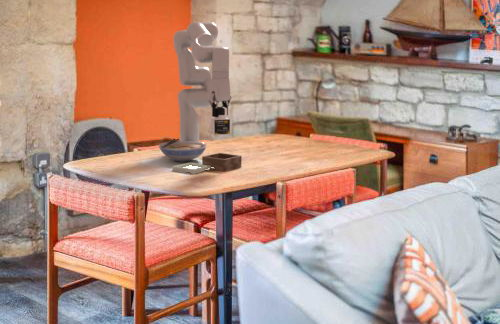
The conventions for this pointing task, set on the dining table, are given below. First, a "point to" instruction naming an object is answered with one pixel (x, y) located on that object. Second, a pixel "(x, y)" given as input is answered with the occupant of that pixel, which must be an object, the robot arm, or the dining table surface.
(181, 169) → the tray
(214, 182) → the dining table surface
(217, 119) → the medicine bottle
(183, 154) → the ramen bowl
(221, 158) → the holder
